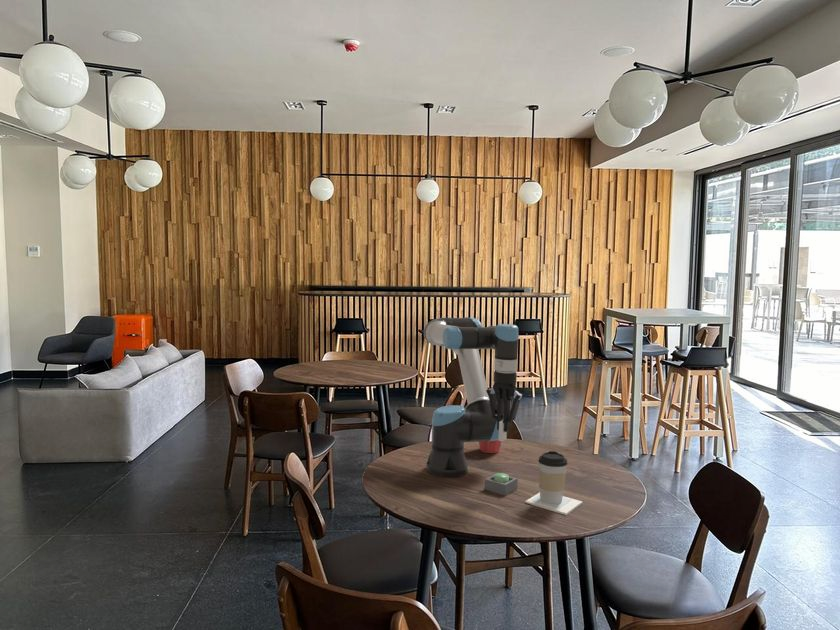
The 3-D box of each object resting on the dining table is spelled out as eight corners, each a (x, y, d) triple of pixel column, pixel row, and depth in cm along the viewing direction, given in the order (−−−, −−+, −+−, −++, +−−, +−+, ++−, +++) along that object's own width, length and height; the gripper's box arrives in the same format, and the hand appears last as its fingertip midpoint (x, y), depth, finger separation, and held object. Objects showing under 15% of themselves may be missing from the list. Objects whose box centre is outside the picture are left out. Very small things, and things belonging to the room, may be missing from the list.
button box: (484, 489, 202) (484, 479, 202) (496, 482, 208) (497, 472, 208) (505, 495, 197) (505, 485, 197) (517, 488, 203) (517, 478, 203)
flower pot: (488, 444, 251) (488, 422, 250) (508, 451, 243) (509, 427, 242) (470, 449, 244) (471, 426, 243) (491, 456, 236) (492, 432, 235)
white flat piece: (525, 502, 191) (525, 500, 191) (542, 492, 201) (542, 490, 200) (566, 515, 183) (566, 513, 182) (582, 503, 192) (582, 501, 192)
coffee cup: (565, 507, 187) (568, 460, 186) (536, 503, 189) (538, 457, 187) (565, 496, 196) (567, 451, 194) (536, 493, 198) (538, 448, 196)
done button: (490, 487, 202) (491, 475, 202) (498, 483, 206) (498, 471, 206) (503, 491, 199) (504, 479, 199) (511, 486, 203) (511, 475, 202)
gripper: (482, 369, 200) (480, 438, 202) (517, 375, 192) (513, 447, 194) (494, 366, 206) (491, 433, 208) (528, 372, 198) (525, 441, 200)
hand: (502, 440), depth 201 cm, fingers closed
